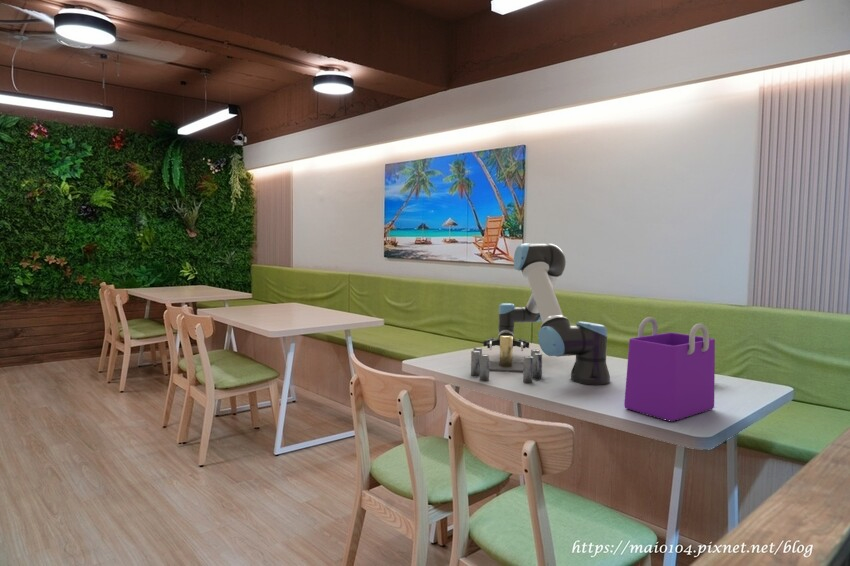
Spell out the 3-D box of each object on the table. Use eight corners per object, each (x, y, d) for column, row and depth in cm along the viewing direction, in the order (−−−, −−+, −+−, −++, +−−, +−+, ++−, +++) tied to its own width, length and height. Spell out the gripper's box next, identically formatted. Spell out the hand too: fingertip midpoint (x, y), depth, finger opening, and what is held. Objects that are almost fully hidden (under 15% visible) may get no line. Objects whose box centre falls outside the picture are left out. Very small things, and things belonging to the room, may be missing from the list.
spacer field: (540, 373, 229) (540, 349, 228) (543, 383, 212) (543, 358, 211) (472, 370, 233) (472, 347, 232) (469, 380, 216) (470, 355, 215)
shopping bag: (689, 427, 163) (694, 328, 161) (619, 411, 178) (622, 320, 176) (717, 407, 183) (722, 319, 181) (652, 394, 198) (655, 313, 196)
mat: (523, 364, 246) (523, 362, 246) (524, 372, 230) (525, 370, 230) (488, 362, 248) (488, 360, 248) (486, 370, 233) (487, 368, 232)
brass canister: (515, 365, 239) (515, 336, 238) (506, 367, 235) (507, 337, 234) (505, 363, 243) (505, 334, 242) (496, 365, 239) (497, 336, 238)
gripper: (532, 347, 255) (535, 357, 234) (479, 345, 258) (477, 354, 237) (533, 331, 254) (535, 339, 233) (479, 330, 258) (477, 337, 237)
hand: (506, 347), depth 235 cm, fingers open, 13 cm apart
